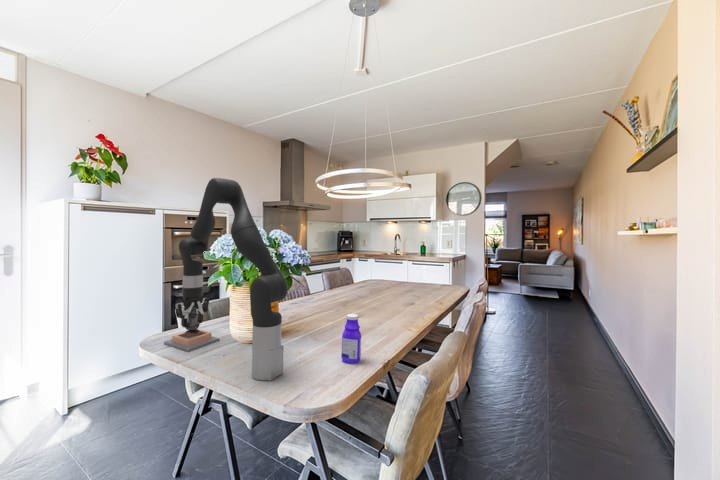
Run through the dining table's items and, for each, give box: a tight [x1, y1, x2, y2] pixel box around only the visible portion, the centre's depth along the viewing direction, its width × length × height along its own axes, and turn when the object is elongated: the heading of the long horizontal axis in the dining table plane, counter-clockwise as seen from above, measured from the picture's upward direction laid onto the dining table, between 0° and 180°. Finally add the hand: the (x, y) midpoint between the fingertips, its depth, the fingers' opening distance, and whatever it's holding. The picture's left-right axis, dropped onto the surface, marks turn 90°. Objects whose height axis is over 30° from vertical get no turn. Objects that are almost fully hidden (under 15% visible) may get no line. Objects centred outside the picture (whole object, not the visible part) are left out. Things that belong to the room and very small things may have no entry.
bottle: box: [340, 313, 362, 364], centre depth 109 cm, size 7×6×17 cm
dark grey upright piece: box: [184, 307, 201, 334], centre depth 122 cm, size 6×6×12 cm
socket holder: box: [163, 328, 221, 353], centre depth 123 cm, size 16×14×4 cm
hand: (192, 324), depth 122 cm, fingers closed on dark grey upright piece, 6 cm apart
